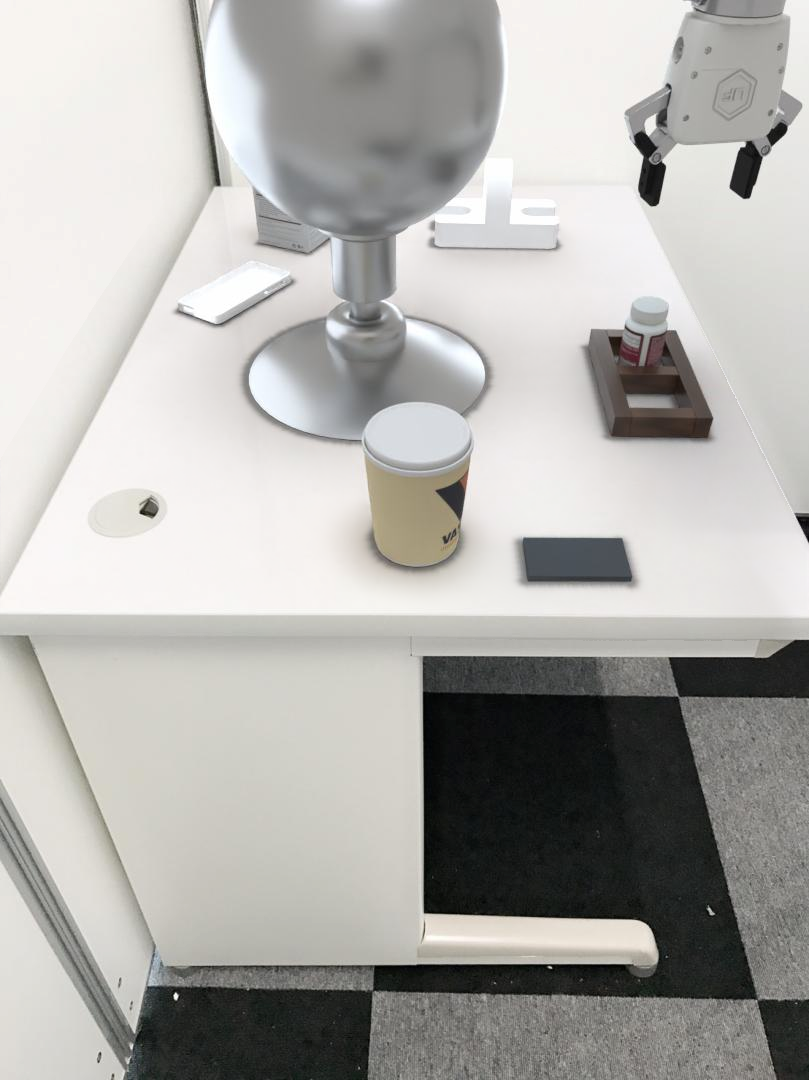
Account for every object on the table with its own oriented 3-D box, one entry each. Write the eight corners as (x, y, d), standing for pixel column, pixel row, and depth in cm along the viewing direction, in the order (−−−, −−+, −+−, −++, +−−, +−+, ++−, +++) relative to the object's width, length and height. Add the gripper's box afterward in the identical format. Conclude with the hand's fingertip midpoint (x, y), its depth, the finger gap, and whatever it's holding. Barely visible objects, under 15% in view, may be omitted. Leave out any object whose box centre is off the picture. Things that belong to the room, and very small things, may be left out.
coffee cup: (461, 579, 74) (467, 470, 66) (356, 567, 75) (350, 458, 67) (472, 511, 81) (480, 404, 73) (376, 501, 82) (373, 395, 74)
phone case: (253, 268, 120) (176, 310, 111) (252, 259, 119) (174, 300, 110) (293, 281, 117) (218, 325, 108) (292, 272, 116) (216, 316, 107)
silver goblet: (533, 371, 100) (590, -110, 69) (359, 473, 85) (334, -77, 55) (373, 294, 114) (362, -132, 84) (201, 370, 100) (113, -111, 69)
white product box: (289, 221, 132) (280, 118, 122) (339, 232, 129) (333, 127, 119) (256, 243, 126) (243, 136, 116) (308, 254, 123) (299, 146, 113)
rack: (671, 348, 104) (676, 329, 102) (708, 437, 90) (713, 417, 88) (587, 347, 104) (590, 328, 102) (611, 436, 90) (615, 416, 88)
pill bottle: (655, 360, 101) (669, 295, 96) (659, 381, 98) (675, 315, 92) (614, 358, 102) (627, 293, 96) (618, 379, 98) (631, 313, 93)
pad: (621, 542, 78) (622, 537, 77) (631, 581, 74) (632, 576, 74) (522, 542, 78) (523, 537, 77) (528, 580, 74) (528, 575, 74)
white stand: (435, 221, 132) (437, 148, 125) (551, 223, 132) (559, 150, 125) (434, 246, 125) (436, 171, 118) (557, 248, 125) (566, 173, 118)
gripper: (664, 10, 69) (626, 219, 80) (856, 1, 71) (793, 205, 83) (628, -9, 74) (598, 190, 86) (808, -16, 77) (755, 178, 88)
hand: (694, 197), depth 84 cm, fingers open, 9 cm apart
